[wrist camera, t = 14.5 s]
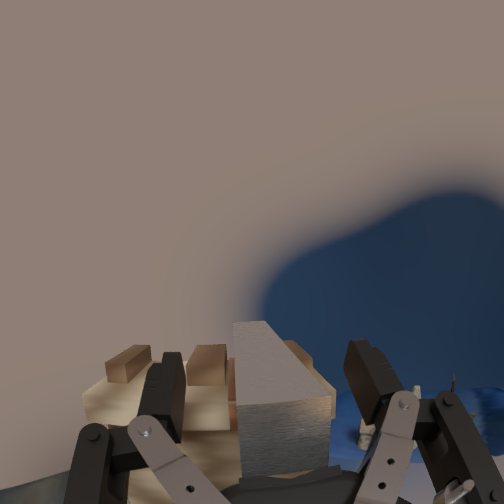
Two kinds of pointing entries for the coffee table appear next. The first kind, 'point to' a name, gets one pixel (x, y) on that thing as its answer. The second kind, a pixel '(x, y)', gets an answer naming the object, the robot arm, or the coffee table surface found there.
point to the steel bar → (277, 406)
